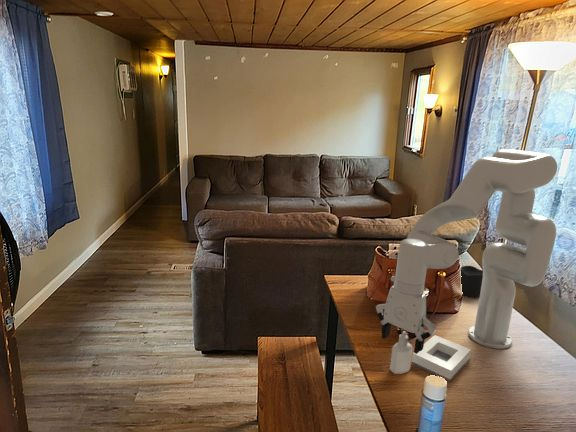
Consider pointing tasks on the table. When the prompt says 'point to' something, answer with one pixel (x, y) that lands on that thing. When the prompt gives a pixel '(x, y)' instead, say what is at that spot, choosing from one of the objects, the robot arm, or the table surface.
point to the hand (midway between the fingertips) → (401, 344)
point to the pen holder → (471, 281)
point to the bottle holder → (442, 357)
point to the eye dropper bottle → (401, 355)
